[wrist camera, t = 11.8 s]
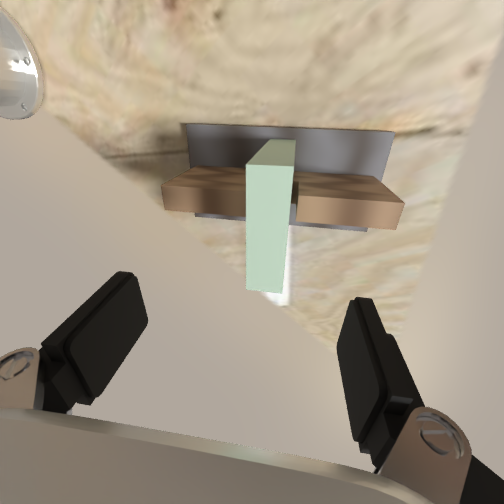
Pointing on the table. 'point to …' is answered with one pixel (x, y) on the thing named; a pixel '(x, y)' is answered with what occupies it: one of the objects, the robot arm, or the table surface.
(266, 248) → the green slat
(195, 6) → the table surface
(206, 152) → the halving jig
